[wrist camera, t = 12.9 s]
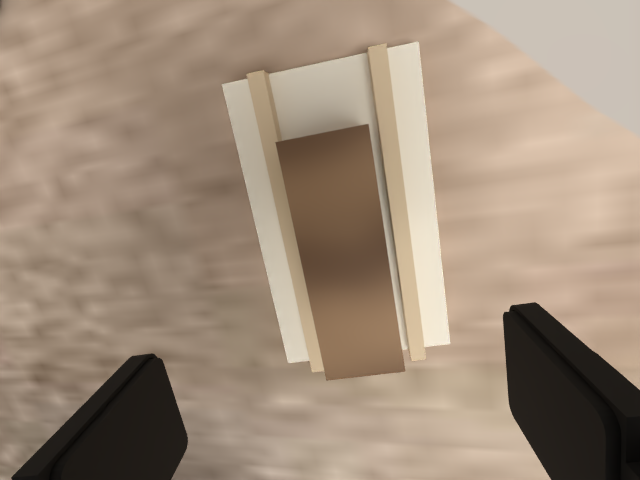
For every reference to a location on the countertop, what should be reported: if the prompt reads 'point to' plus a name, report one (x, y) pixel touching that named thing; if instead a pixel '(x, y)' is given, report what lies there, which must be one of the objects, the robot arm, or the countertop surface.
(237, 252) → the countertop surface
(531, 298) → the countertop surface
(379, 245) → the brown rectangular panel
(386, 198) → the ledge board
